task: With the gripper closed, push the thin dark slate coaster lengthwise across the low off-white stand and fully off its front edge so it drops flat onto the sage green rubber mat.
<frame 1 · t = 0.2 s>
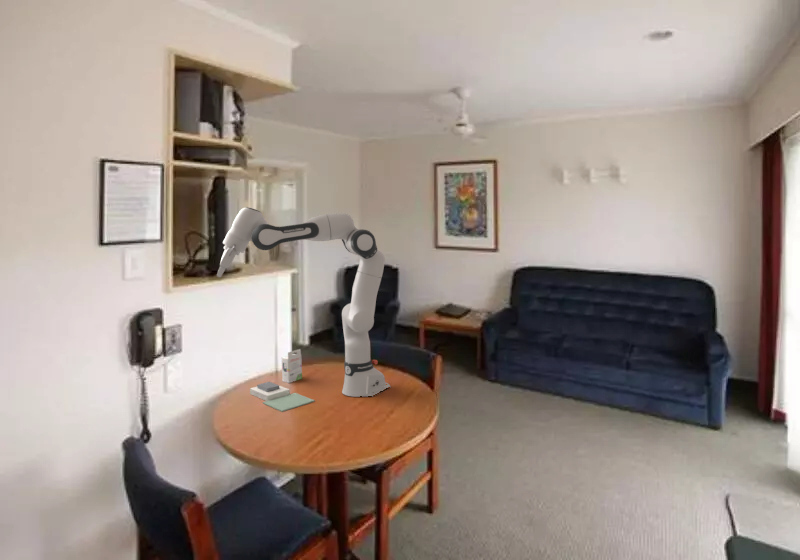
hand: (218, 275, 196), 54 cm above the table, tool tilted 30°, fingers open, 8 cm apart
mat: (288, 402, 206), on the table
stand: (269, 394, 216), on the table
slate coaster: (268, 388, 216), point 2 cm above the table, touching stand
ink box: (292, 380, 236), on the table
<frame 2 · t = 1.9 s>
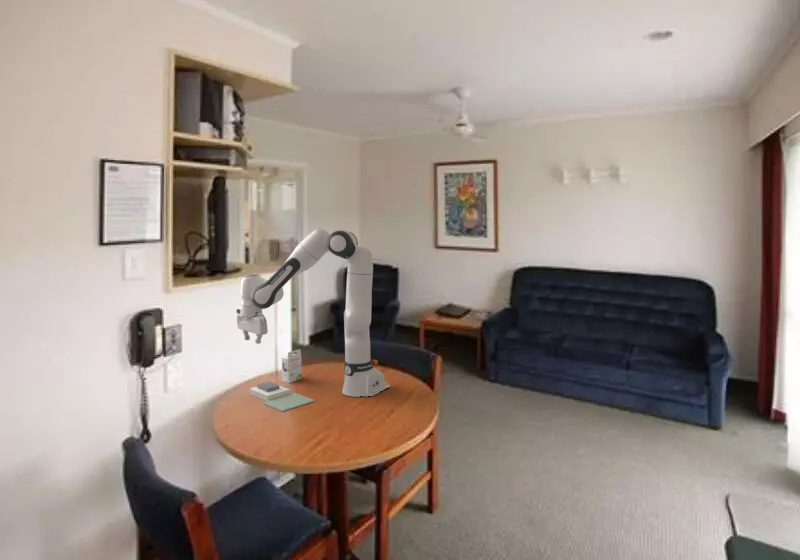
hand: (252, 341, 221), 22 cm above the table, tool pointing down, fingers open, 8 cm apart
nothing on the table moved.
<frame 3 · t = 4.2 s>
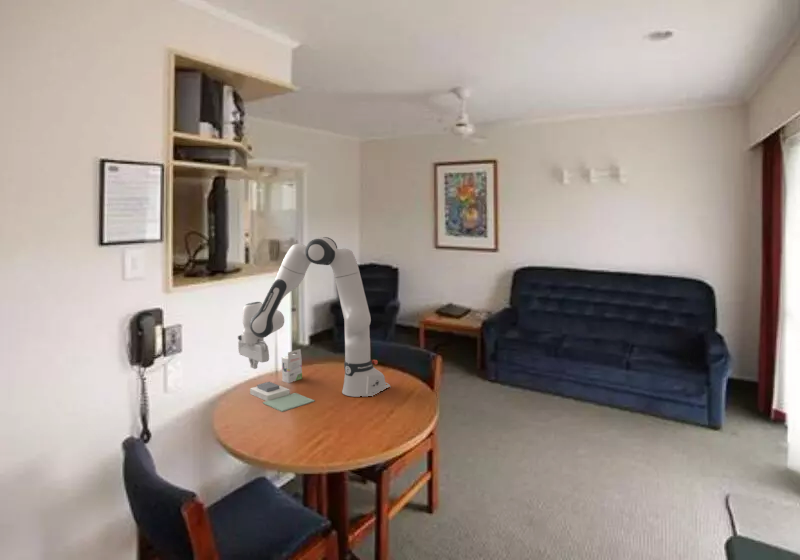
hand: (253, 368, 223), 10 cm above the table, tool pointing down, fingers closed
nothing on the table moved.
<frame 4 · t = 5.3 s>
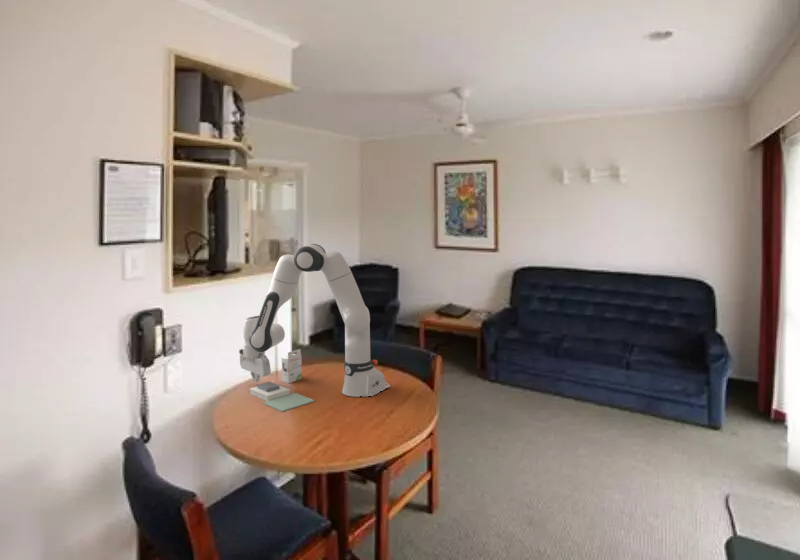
hand: (255, 381, 223), 3 cm above the table, tool pointing down, fingers closed
nothing on the table moved.
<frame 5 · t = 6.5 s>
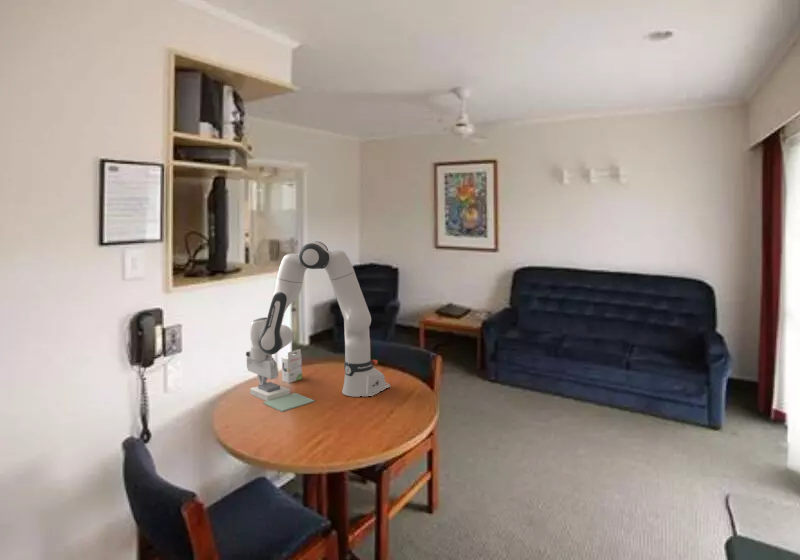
hand: (262, 384, 220), 3 cm above the table, tool pointing down, fingers closed
slate coaster: (269, 388, 216), point 3 cm above the table, touching gripper, stand
everything else where it was.
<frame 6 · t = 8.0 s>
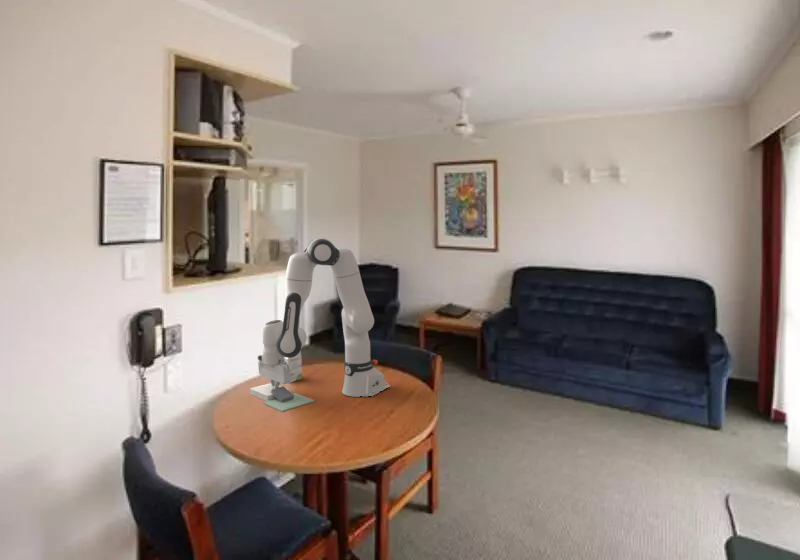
hand: (275, 389, 213), 3 cm above the table, tool pointing down, fingers closed
slate coaster: (282, 395, 209), point 2 cm above the table, tilted 18°, touching gripper
everything else where it was.
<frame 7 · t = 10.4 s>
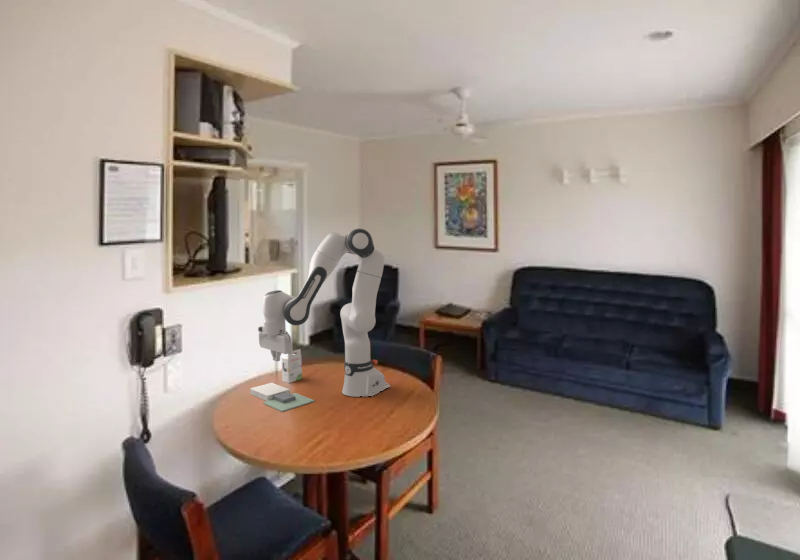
hand: (276, 360, 211), 16 cm above the table, tool pointing down, fingers closed
slate coaster: (284, 399, 208), resting on mat
everything else where it was.
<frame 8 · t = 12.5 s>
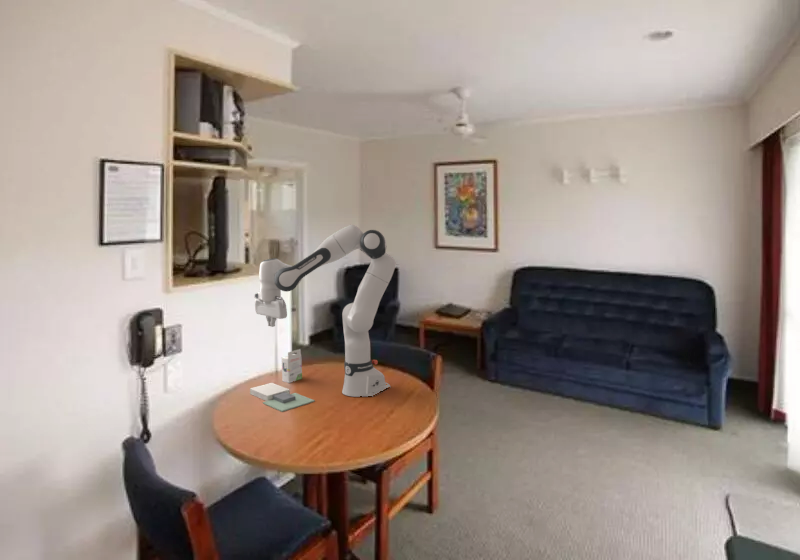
hand: (271, 326, 219), 29 cm above the table, tool pointing down, fingers closed
nothing on the table moved.
at the end: slate coaster inside the target area (3.4 cm from its centre), point 0.5 cm above the table; slate coaster tilted 0° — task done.
